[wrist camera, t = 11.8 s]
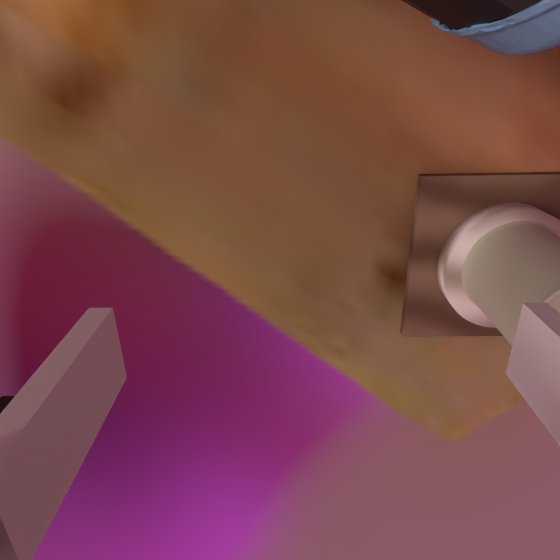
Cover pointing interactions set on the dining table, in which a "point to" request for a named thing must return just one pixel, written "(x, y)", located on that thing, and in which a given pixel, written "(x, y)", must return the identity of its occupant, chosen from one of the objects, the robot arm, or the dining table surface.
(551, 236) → the can
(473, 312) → the stand
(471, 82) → the dining table surface
